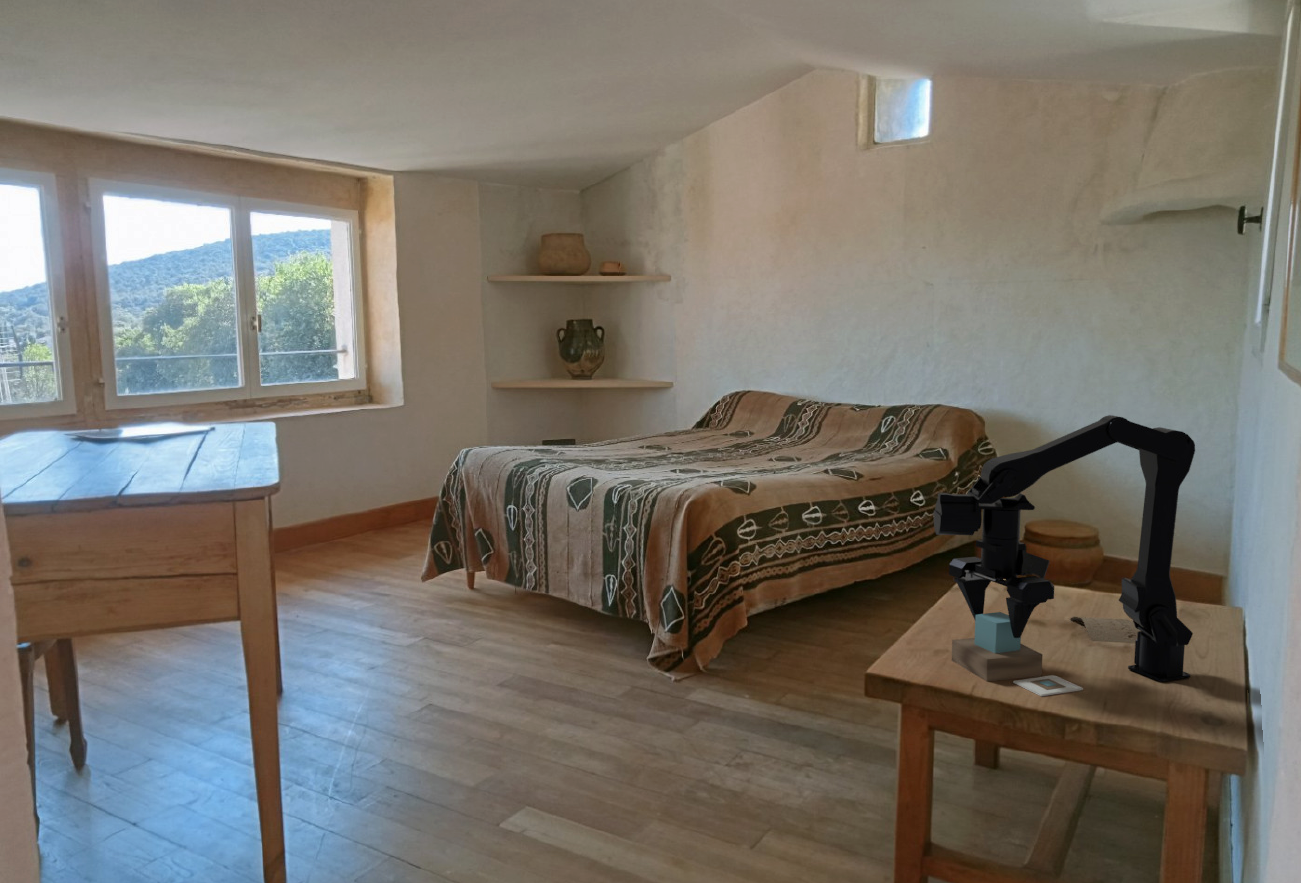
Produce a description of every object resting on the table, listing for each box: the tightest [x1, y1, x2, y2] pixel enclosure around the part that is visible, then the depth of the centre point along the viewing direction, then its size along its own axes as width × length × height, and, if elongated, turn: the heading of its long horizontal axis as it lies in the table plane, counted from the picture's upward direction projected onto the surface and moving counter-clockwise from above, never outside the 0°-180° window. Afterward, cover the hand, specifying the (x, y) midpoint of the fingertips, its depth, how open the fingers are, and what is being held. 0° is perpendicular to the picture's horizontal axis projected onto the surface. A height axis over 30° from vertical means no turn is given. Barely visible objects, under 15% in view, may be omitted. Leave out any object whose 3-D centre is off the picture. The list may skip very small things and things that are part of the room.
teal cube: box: [974, 611, 1022, 654], centre depth 150 cm, size 5×5×5 cm
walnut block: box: [951, 637, 1043, 682], centre depth 151 cm, size 10×10×4 cm
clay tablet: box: [1069, 616, 1140, 644], centre depth 170 cm, size 14×10×3 cm
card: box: [1013, 674, 1084, 697], centre depth 142 cm, size 6×8×1 cm
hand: (997, 629), depth 150 cm, fingers open, 9 cm apart
